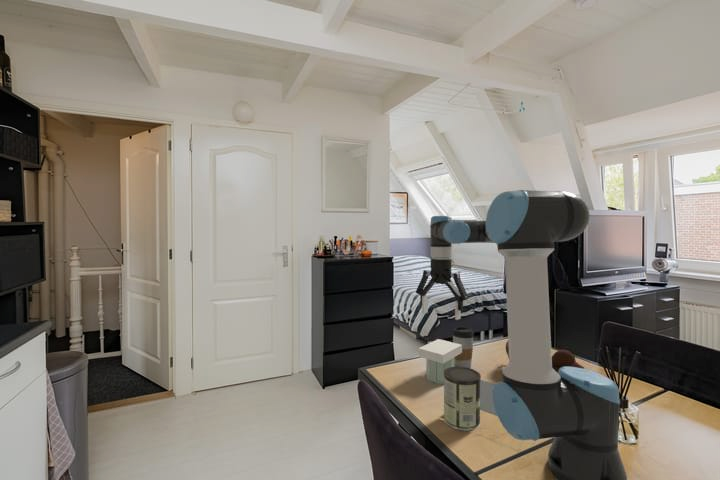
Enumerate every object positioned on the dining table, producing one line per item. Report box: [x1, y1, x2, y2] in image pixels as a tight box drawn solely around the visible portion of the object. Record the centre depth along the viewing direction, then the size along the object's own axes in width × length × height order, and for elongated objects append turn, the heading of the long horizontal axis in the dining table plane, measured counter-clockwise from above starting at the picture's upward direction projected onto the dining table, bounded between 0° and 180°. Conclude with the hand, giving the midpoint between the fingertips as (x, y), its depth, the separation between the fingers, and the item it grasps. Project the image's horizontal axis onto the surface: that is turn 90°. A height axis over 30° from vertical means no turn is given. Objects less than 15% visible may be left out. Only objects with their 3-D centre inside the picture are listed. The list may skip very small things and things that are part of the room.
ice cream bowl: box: [552, 349, 585, 372], centre depth 119 cm, size 11×11×15 cm
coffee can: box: [443, 366, 482, 432], centre depth 102 cm, size 10×10×14 cm
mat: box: [480, 379, 498, 417], centre depth 117 cm, size 20×16×1 cm
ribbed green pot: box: [425, 357, 455, 385], centre depth 131 cm, size 10×10×9 cm
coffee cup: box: [452, 326, 475, 368], centre depth 141 cm, size 8×8×15 cm
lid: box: [418, 338, 462, 363], centre depth 130 cm, size 14×10×3 cm
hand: (440, 316), depth 129 cm, fingers open, 13 cm apart
